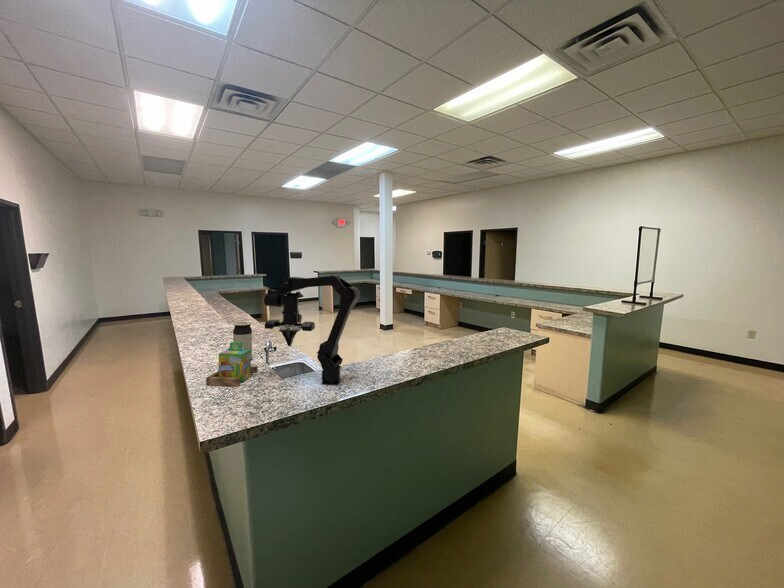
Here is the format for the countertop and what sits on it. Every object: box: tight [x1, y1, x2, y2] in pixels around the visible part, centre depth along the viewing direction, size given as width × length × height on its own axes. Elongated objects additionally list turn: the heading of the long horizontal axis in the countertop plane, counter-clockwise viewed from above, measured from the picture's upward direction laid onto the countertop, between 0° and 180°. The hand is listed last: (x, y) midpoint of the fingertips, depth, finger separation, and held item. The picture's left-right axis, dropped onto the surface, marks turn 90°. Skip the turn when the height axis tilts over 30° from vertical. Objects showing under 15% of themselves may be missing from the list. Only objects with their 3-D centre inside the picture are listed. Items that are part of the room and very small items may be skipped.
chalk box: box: [218, 341, 252, 384], centre depth 125 cm, size 9×9×15 cm
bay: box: [205, 365, 259, 388], centre depth 125 cm, size 12×15×3 cm
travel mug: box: [232, 321, 253, 360], centre depth 149 cm, size 8×8×18 cm
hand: (289, 346), depth 128 cm, fingers closed
